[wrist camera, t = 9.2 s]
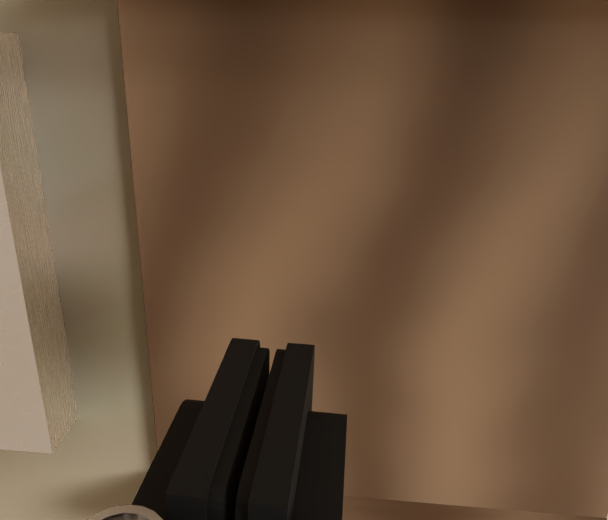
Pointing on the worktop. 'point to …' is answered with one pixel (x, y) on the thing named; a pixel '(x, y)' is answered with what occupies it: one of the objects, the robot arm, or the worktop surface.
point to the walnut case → (388, 232)
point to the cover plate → (27, 283)
